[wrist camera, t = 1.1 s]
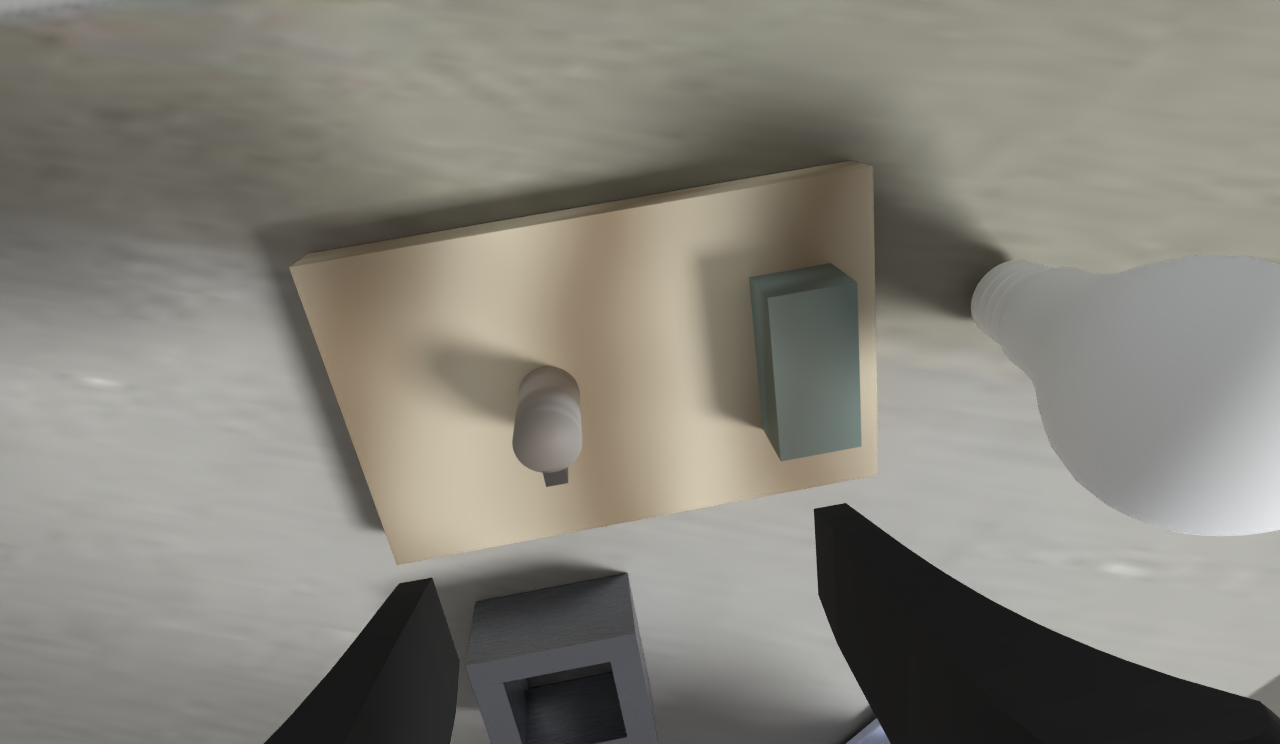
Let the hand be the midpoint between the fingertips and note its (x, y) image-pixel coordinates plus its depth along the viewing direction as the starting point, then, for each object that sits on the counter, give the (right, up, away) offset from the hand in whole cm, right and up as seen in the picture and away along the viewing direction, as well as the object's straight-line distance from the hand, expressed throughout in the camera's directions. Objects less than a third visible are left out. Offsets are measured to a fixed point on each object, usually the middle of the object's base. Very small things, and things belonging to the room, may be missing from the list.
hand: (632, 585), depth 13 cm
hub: (-3, -6, +14) cm, 15 cm away
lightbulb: (+12, +7, +10) cm, 17 cm away
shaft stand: (-1, +4, +9) cm, 10 cm away
